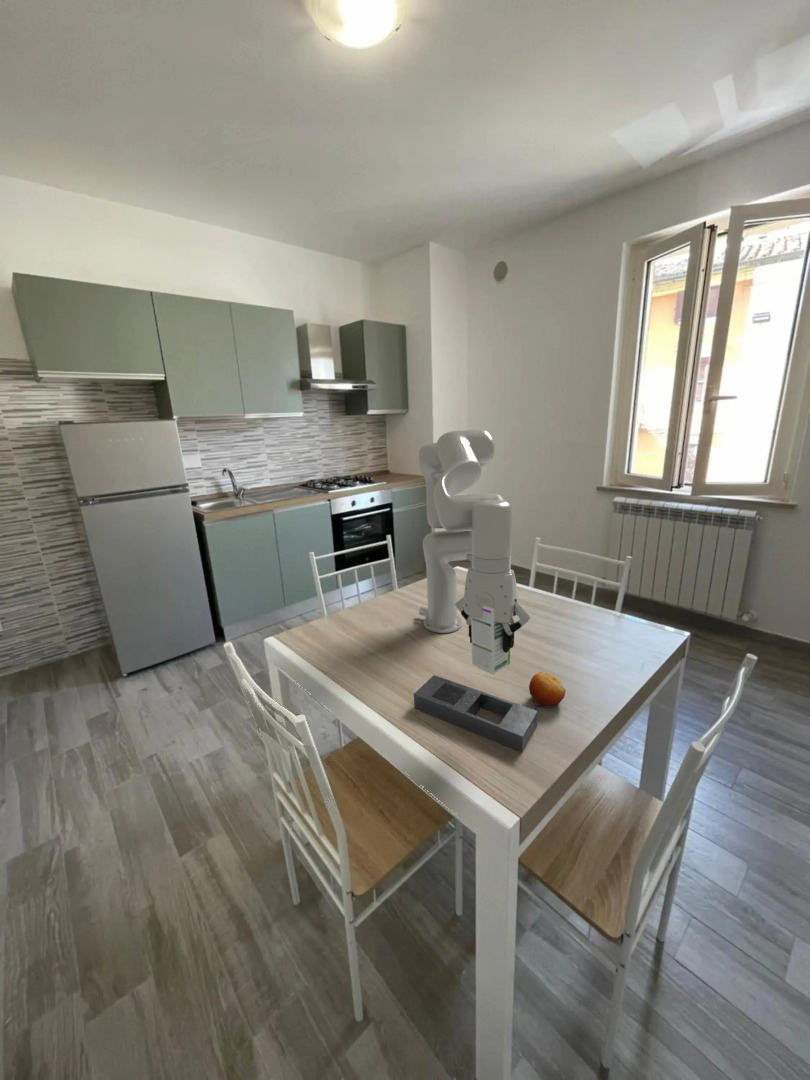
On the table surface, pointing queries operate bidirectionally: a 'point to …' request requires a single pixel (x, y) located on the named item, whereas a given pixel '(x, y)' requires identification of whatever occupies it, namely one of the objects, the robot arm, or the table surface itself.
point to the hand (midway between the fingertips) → (490, 644)
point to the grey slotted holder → (464, 705)
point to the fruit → (546, 690)
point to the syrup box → (488, 642)
